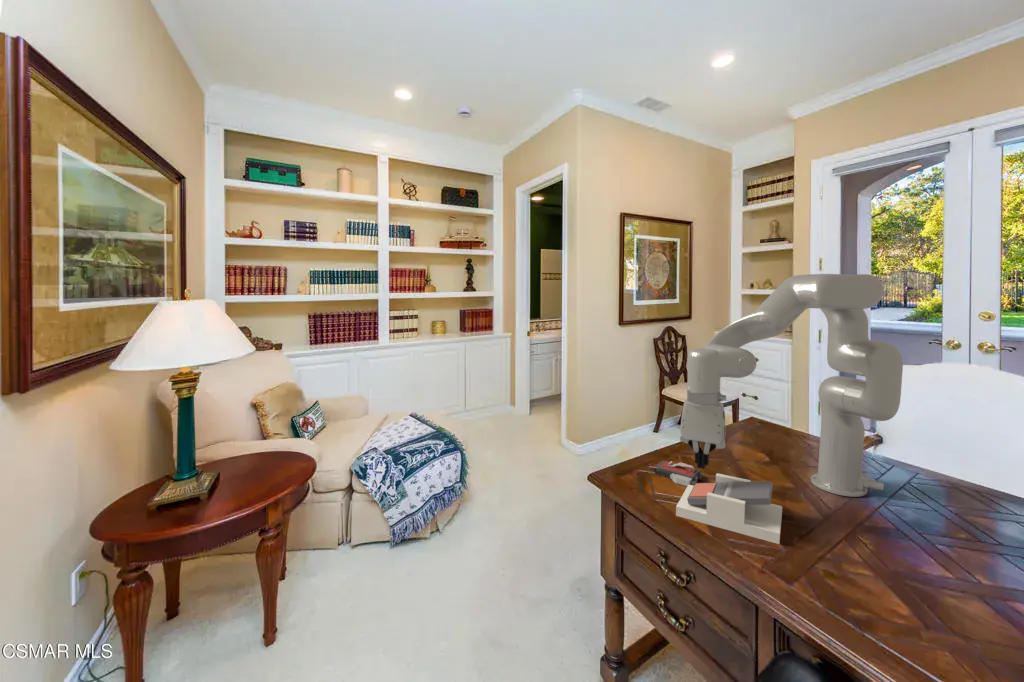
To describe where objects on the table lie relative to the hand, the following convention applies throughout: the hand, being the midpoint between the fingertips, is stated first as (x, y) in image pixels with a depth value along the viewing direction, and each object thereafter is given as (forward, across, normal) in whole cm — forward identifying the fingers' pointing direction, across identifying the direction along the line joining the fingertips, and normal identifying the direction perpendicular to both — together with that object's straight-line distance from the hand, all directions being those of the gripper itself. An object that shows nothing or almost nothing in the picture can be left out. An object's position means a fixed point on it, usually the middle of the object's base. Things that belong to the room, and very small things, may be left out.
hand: (701, 466), depth 106 cm
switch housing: (+11, -7, +1) cm, 13 cm away
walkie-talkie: (+12, +6, -15) cm, 20 cm away
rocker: (+5, -7, +1) cm, 8 cm away
